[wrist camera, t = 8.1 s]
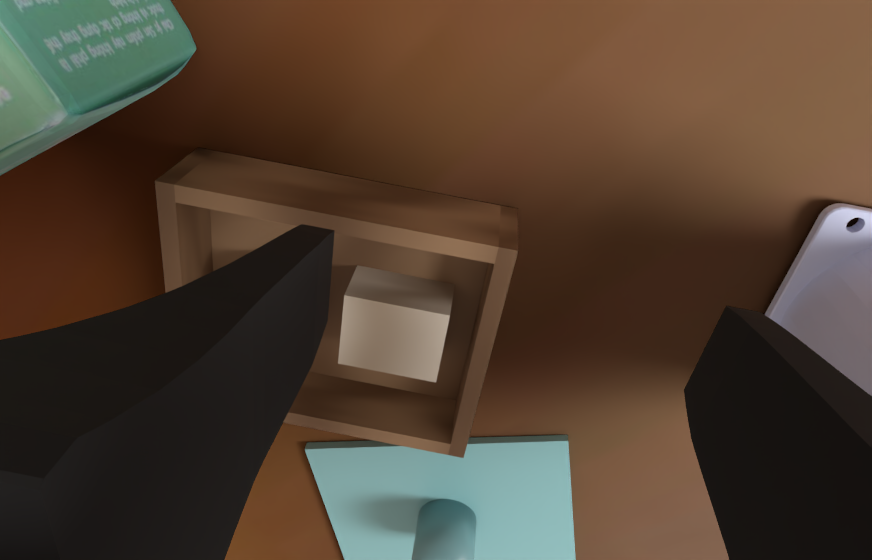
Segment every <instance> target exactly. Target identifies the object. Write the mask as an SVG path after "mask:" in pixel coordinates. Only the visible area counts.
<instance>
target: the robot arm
mask: <svg viewBox="0 0 872 560" xmlns="http://www.w3.org/2000/svg"><path fill="white" fill-rule="evenodd" d="M854 218H859V219H858V222H857V223H856V224H855V225H853V226H851V227H846V226H847V223H848V222H849V221H850V220H851V219H854ZM334 232H335V230H331V229H326V228H320V227H315V226H310V225H305V224H301V225H299V226H297V227H295V228H293V229H291V230H289V231H287V232H285V233H284V234H282V235H280V236H278V237H277V238H275V239H273V240H271V241H270V242H268V243H266V244H264V245H263V246H261V247H259V248H257V249H255V250H253V251H252V252H250V253H248V254H246V255H244V256H242V257H241V258H239V259H237V260H235V261H233V262H231V263H229V264H227V265H225V266H223V267H221V268H219V269H217V270H215V271H213V272H211V273H209V274H207V275H204V276H202V277H200V278H198V279H196V280H194V281H192V282H190V283H188V284H186V285H183V286H181V287H179V288H176V289H174V290H172V291H169V292H167V293H164V294H162V295H159V296H156V297H154V298H151V299H148V300H145V301H143V302H140V303H137V304H134V305H132V306H129V307H126V308H123V309H120V310H117V311H113V312H110V313H106V314H103V315H99V316H96V317H92V318H89V319H85V320H82V321H78V322H75V323H71V324H68V325H64V326H61V327H57V328H53V329H49V330H45V331H40V332H36V333H31V334H27V335H23V336H18V337H13V338H8V339H3V340H0V560H224V559H225V556H226V554H227V551H228V548H229V545H230V543H231V540H232V537H233V535H234V532H235V529H236V527H237V524H238V521H239V519H240V516H241V514H242V511H243V509H244V506H245V503H246V501H247V498H248V496H249V493H250V490H251V488H252V485H253V483H254V480H255V478H256V476H257V474H258V472H259V469H260V467H261V465H262V463H263V461H264V459H265V457H266V455H267V453H268V451H269V449H270V447H271V445H272V443H273V441H274V439H275V437H276V435H277V433H278V431H279V429H280V427H281V425H282V424H283V422H284V420H285V418H286V416H287V414H288V412H289V410H290V408H291V406H292V404H293V402H294V400H295V398H296V396H297V394H298V392H299V390H300V388H301V386H302V384H303V382H304V380H305V378H306V376H307V374H308V372H309V370H310V368H311V366H312V364H313V362H314V359H315V356H316V353H317V351H318V348H319V345H320V342H321V339H322V336H323V333H324V330H325V327H326V324H327V321H328V311H329V298H330V285H331V272H332V259H333V246H334ZM684 393H685V401H686V409H687V416H688V422H689V428H690V433H691V439H692V442H693V446H694V449H695V452H696V456H697V459H698V462H699V465H700V468H701V472H702V475H703V478H704V481H705V484H706V487H707V490H708V494H709V497H710V500H711V503H712V506H713V509H714V512H715V515H716V518H717V521H718V525H719V528H720V531H721V534H722V537H723V540H724V543H725V546H726V549H727V553H728V556H729V560H872V209H870V208H865V207H860V206H854V205H849V204H844V203H836V204H832V205H829V206H828V207H826V208H825V209H823V211H822V212H821V213H820V214H819V216H818V218H817V220H816V222H815V224H814V225H813V227H812V229H811V231H810V233H809V234H808V236H807V238H806V240H805V242H804V244H803V245H802V247H801V249H800V251H799V253H798V255H797V256H796V258H795V260H794V262H793V264H792V265H791V267H790V269H789V271H788V273H787V275H786V276H785V278H784V280H783V282H782V284H781V285H780V287H779V289H778V291H777V293H776V295H775V296H774V298H773V300H772V302H771V304H770V306H769V307H768V309H767V311H766V313H765V315H764V314H762V313H760V312H756V311H751V310H746V309H740V308H735V307H730V306H726V307H725V309H724V311H723V313H722V315H721V317H720V319H719V321H718V323H717V325H716V327H715V329H714V331H713V333H712V335H711V337H710V339H709V341H708V343H707V345H706V347H705V349H704V351H703V353H702V355H701V357H700V359H699V361H698V363H697V365H696V367H695V369H694V371H693V373H692V375H691V377H690V379H689V381H688V383H687V385H686V387H685V389H684Z"/></svg>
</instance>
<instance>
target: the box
mask: <svg viewBox="0 0 872 560" xmlns="http://www.w3.org/2000/svg"><path fill="white" fill-rule="evenodd" d="M195 51H196V45H195V43H194V41H193V38H192V36H191V33H190V31H189V29H188V28H187V26H186V25H185V23H184V21H183V20H182V18H181V17H180V15H179V13H178V12H177V10H176V9H175V7H174V5H173V4H172V2H171V1H170V0H0V176H1V175H2V174H4V173H6V172H7V171H9V170H11V169H13V168H15V167H16V166H18V165H20V164H22V163H24V162H26V161H27V160H29V159H31V158H33V157H35V156H36V155H38V154H40V153H42V152H44V151H46V150H47V149H49V148H51V147H53V146H55V145H56V144H58V143H60V142H62V141H64V140H66V139H67V138H69V137H71V136H73V135H75V134H77V133H78V132H80V131H82V130H84V129H86V128H88V127H89V126H91V125H93V124H95V123H97V122H99V121H100V120H102V119H104V118H106V117H108V116H110V115H112V114H113V113H115V112H117V111H119V110H120V109H122V108H124V107H126V106H128V105H129V104H131V103H133V102H135V101H137V100H138V99H140V98H142V97H144V96H146V95H148V94H149V93H151V92H153V91H155V90H156V89H157V88H159V87H160V86H162V85H163V84H165V83H166V82H167V81H169V80H170V79H172V78H173V77H175V76H176V75H178V73H179V72H180V71H181V70H182V69H183V68H184V67H185V65H186V64H187V63H188V61H189V60H190V58H191V57H192V55H193V54H194V52H195Z"/></svg>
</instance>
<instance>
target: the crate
mask: <svg viewBox="0 0 872 560" xmlns="http://www.w3.org/2000/svg"><path fill="white" fill-rule="evenodd" d="M155 189H156V200H157V210H158V220H159V230H160V241H161V251H162V261H163V271H164V282H165V292H166V293H167V292H169V291H172V290H174V289H176V288H179V287H181V286H183V285H186V284H188V283H190V282H192V281H194V280H196V279H198V278H200V277H202V276H204V275H207V274H209V273H211V272H213V271H215V270H217V269H219V268H221V267H223V266H225V265H227V264H229V263H231V262H233V261H235V260H237V259H239V258H241V257H242V256H244V255H246V254H248V253H250V252H252V251H253V250H255V249H257V248H259V247H261V246H263V245H264V244H266V243H268V242H270V241H271V240H273V239H275V238H277V237H278V236H280V235H282V234H284V233H285V232H287V231H289V230H291V229H293V228H295V227H297V226H299V225H301V224H305V225H310V226H315V227H320V228H326V229H331V230H335V232H334V246H333V259H332V272H331V285H330V298H329V311H328V321H327V324H326V327H325V330H324V333H323V336H322V339H321V342H320V345H319V348H318V351H317V353H316V356H315V359H314V362H313V364H312V366H311V368H310V370H309V372H308V374H307V376H306V378H305V380H304V382H303V384H302V386H301V388H300V390H299V392H298V394H297V396H296V398H295V400H294V402H293V404H292V406H291V408H290V410H289V412H288V414H287V416H286V418H285V420H284V422H283V423H287V424H293V425H298V426H303V427H308V428H313V429H318V430H323V431H328V432H333V433H338V434H343V435H349V436H354V437H359V438H364V439H369V440H374V441H379V442H384V443H389V444H394V445H399V446H404V447H410V448H415V449H420V450H425V451H430V452H435V453H440V454H445V455H450V456H455V457H460V458H464V454H465V451H466V447H467V443H468V439H469V435H470V432H471V428H472V424H473V420H474V417H475V413H476V409H477V405H478V401H479V398H480V394H481V390H482V386H483V382H484V379H485V375H486V371H487V367H488V364H489V360H490V356H491V352H492V348H493V345H494V341H495V337H496V333H497V329H498V326H499V322H500V318H501V314H502V311H503V307H504V303H505V299H506V295H507V292H508V288H509V284H510V280H511V276H512V273H513V269H514V265H515V261H516V258H517V254H518V209H516V208H511V207H506V206H501V205H495V204H490V203H485V202H480V201H475V200H469V199H464V198H459V197H454V196H448V195H443V194H438V193H433V192H428V191H422V190H417V189H412V188H407V187H402V186H396V185H391V184H386V183H381V182H375V181H370V180H365V179H360V178H355V177H349V176H344V175H339V174H334V173H329V172H323V171H318V170H313V169H308V168H302V167H297V166H292V165H287V164H282V163H276V162H271V161H266V160H261V159H256V158H250V157H245V156H240V155H235V154H229V153H224V152H219V151H214V150H209V149H203V148H197V149H196V150H194V151H193V152H192V153H190V154H189V155H188V156H186V157H185V158H184V159H183V160H181V161H180V162H179V163H177V164H176V165H175V166H173V167H172V168H171V169H170V170H168V171H167V172H166V173H164V174H163V175H162V176H160V177H159V178H158V179H157V180H155Z"/></svg>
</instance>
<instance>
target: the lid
mask: <svg viewBox="0 0 872 560" xmlns="http://www.w3.org/2000/svg"><path fill="white" fill-rule="evenodd" d="M305 452H306V455H307V458H308V460H309V463H310V466H311V469H312V471H313V474H314V477H315V480H316V482H317V485H318V488H319V491H320V493H321V496H322V499H323V502H324V504H325V507H326V510H327V513H328V515H329V518H330V521H331V524H332V526H333V529H334V532H335V535H336V537H337V540H338V543H339V546H340V548H341V551H342V554H343V557H344V559H345V560H575V544H574V528H573V512H572V495H571V479H570V463H569V447H568V435H544V436H510V437H476V438H469V439H468V443H467V447H466V451H465V454H464V458H460V457H455V456H450V455H445V454H440V453H435V452H430V451H425V450H420V449H415V448H410V447H404V446H399V445H394V444H389V443H384V442H379V441H341V442H307V444H306V447H305Z"/></svg>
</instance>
